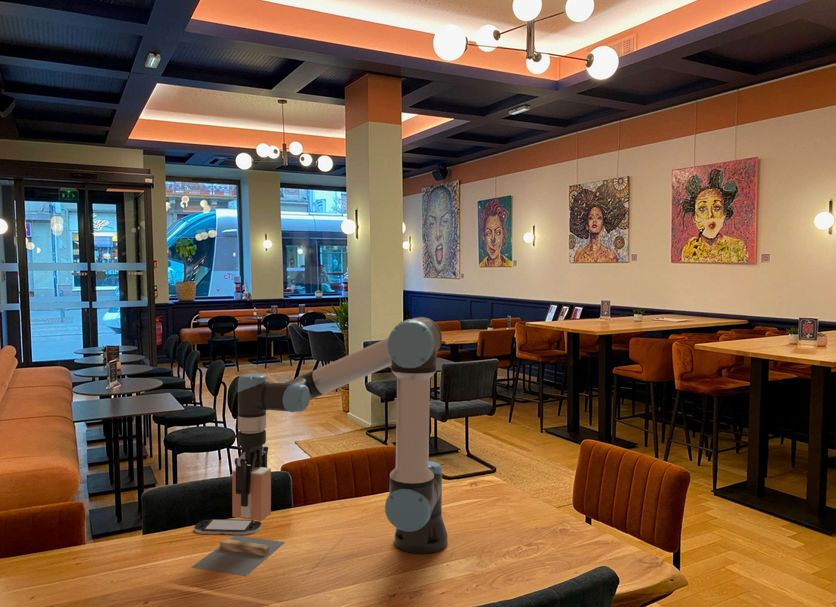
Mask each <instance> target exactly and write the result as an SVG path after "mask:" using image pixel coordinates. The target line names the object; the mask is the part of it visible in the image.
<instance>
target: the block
mask: <svg viewBox="0 0 836 607" xmlns="http://www.w3.org/2000/svg"><path fill="white" fill-rule="evenodd" d="M231 472H232V476H231V477H232V478H231V479H232V480H231V481H232V482H231V484H232V492H231V493H232V494H231V496H232V497H231V498H232V501H231V504H232V518H240V519H243V520H254V521H260V522H262V521H263V520H265V519H266V518H267V517H269V516H270V515H271V514H272V509H271V508H272V507H271V506H272V500H271V499H272V469H271V467H267V468H265V467H260V468H257V467H254V469H253V470H252V472H251V485H250V492H249V493H251V517H250V518H247V517H241V495H240V494H236V468H234V469H233V470H232V471H231Z"/></svg>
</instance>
